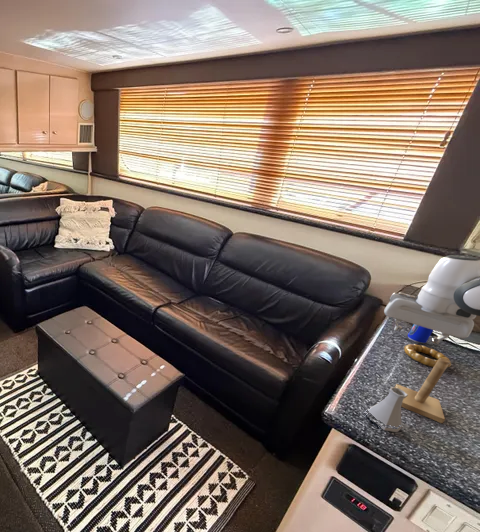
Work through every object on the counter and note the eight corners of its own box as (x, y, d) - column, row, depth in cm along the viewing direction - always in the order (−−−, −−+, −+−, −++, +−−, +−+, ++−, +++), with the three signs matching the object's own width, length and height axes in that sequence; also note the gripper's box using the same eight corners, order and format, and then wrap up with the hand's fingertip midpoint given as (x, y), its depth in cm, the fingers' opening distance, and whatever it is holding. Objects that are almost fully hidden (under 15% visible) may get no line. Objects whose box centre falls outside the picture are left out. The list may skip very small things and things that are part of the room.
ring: (445, 358, 110) (448, 352, 109) (451, 374, 102) (455, 369, 101) (401, 344, 116) (404, 339, 115) (404, 358, 108) (407, 353, 107)
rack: (436, 403, 89) (465, 359, 83) (442, 423, 83) (474, 377, 77) (394, 387, 95) (418, 344, 89) (396, 405, 88) (423, 360, 82)
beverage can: (407, 334, 123) (426, 300, 117) (425, 340, 119) (446, 306, 114) (406, 339, 120) (425, 304, 114) (425, 345, 116) (446, 310, 110)
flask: (378, 408, 86) (395, 380, 83) (408, 431, 80) (427, 401, 76) (356, 411, 85) (372, 382, 81) (384, 434, 79) (403, 404, 75)
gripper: (394, 293, 107) (376, 327, 113) (484, 317, 96) (459, 354, 101) (393, 287, 112) (375, 320, 117) (478, 309, 100) (455, 345, 106)
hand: (415, 336), depth 109 cm, fingers open, 8 cm apart
